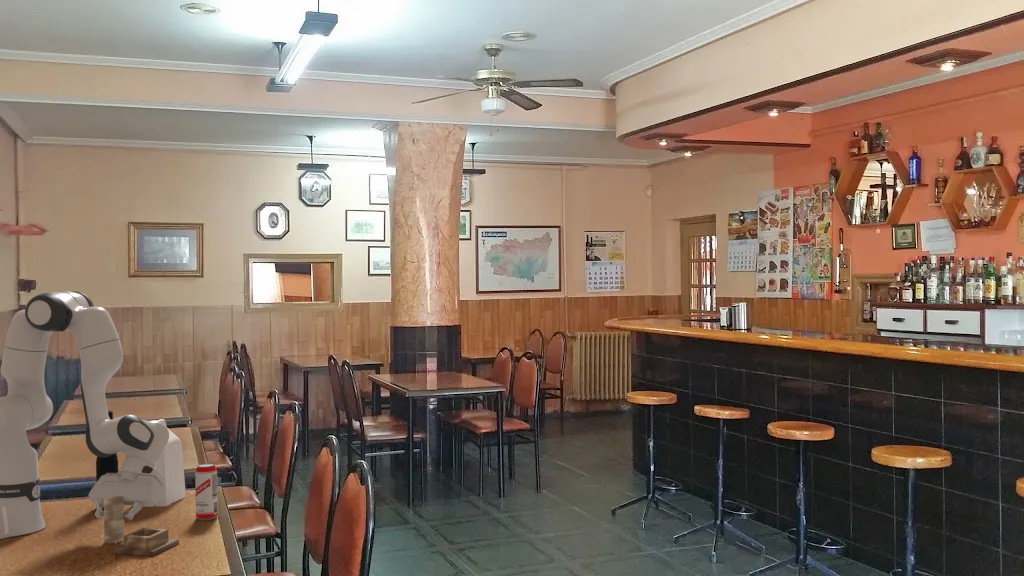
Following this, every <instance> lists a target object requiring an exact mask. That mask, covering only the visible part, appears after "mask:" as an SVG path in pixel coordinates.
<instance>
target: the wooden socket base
mask: <svg viewBox="0 0 1024 576" xmlns="http://www.w3.org/2000/svg"><path fill="white" fill-rule="evenodd" d="M169 536H170V535H169V529H167V528H151V527H149V528H148V527H142V528H140V529H139V528H138V529H137V530H134V531H132V532H130V533H128V534H124V540H123V544H121V545H119V546H116V547H114V548H113V549H112V553H113V554H115V553H117V554H120V555H129V554H134V555H133V556H143V555H144V557H145V556H146V557H155V556H157V555H159V554H161V553H163V552H165V551H167V550H169V549H171V548H173V547H175V546H177V545H179V542H180V540H179V539H178V538H170V537H169ZM158 553H159V554H158ZM156 554H157V555H156ZM154 555H155V556H154Z"/></svg>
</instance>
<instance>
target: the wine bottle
mask: <svg viewBox="0 0 1024 576" xmlns="http://www.w3.org/2000/svg"><path fill="white" fill-rule="evenodd" d="M108 415H109V418H110V419H111V420H112V419H114V412H113V411H111V410H108ZM118 459H119V458H118V453H116V454H113V455H111V456H108V457H98V456H96V461H95V468H96V469H95V474H96V475H95V479H96V482H97V481H98V480H99V479H100V477H101V476H103V475H105V474H107V473H118V471H119V460H118ZM96 482H95V483H96ZM102 509H104V507H102Z"/></svg>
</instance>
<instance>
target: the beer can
mask: <svg viewBox="0 0 1024 576" xmlns="http://www.w3.org/2000/svg"><path fill="white" fill-rule="evenodd" d="M196 467H197V468H196V469H195V472H194V479H195V480H194V482H195V485H194V486H195V518H196V519H198V520H199V521H211V520H215V519H216V518H217V517H218V515H219V509H218V508H219V506H218V505H219V503H218V502H219V499H218V498H219V497H218V469H217V467H216V463H213V462H206V463H199V464H197V465H196Z"/></svg>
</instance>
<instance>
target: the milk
mask: <svg viewBox="0 0 1024 576" xmlns="http://www.w3.org/2000/svg"><path fill="white" fill-rule="evenodd" d="M156 421H158V422H160V423H162V424H163V425H165V426H166V427H167V423H166V419H164V418H163V419H158V420H157V419H156ZM167 429H168V431H169V440H168V444H167V446H166V449H165V451H164V453H163V455H162V457H161V459H160V460H159V461H158V462H157V464H156V469H157V470H158V471H159V472H160V473H161V474H162V475H163V477H164V478H165V480H166V483H165V485H164V486H162V487H163V491H162V494H161V496H160V498H159V500H158V502H157V504H156V505H162V506H161V507H167V506H166V505H168V506H170V505H172V504H171V503H173V502H175V503H176V501H177V502H179V501H181V500H183V499H185V498H186V497H187V496H186V494H187V493H186V482H185V481H186V480H185V468H184V467H185V466H184V457H183V443H182V440H181V439H180V437H178V436H177V435H176V434H175V433H174V432H173V431H171V430H170V428H168V427H167ZM180 499H181V500H180ZM178 500H179V501H178ZM169 504H170V505H169ZM173 504H174V503H173Z"/></svg>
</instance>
